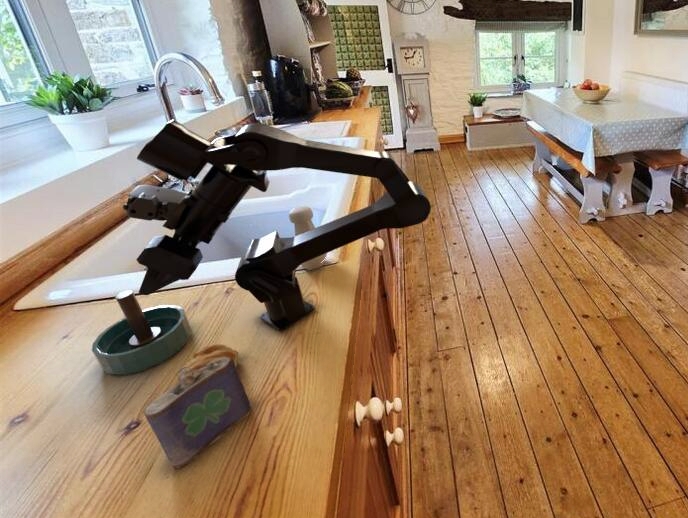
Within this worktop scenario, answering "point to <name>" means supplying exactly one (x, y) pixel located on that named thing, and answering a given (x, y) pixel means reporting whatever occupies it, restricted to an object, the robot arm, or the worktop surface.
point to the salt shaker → (303, 224)
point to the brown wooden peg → (137, 321)
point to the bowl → (124, 360)
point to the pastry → (211, 356)
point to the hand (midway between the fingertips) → (155, 275)
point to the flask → (198, 410)
